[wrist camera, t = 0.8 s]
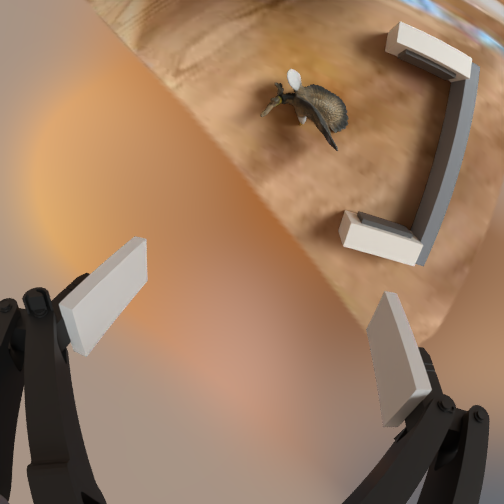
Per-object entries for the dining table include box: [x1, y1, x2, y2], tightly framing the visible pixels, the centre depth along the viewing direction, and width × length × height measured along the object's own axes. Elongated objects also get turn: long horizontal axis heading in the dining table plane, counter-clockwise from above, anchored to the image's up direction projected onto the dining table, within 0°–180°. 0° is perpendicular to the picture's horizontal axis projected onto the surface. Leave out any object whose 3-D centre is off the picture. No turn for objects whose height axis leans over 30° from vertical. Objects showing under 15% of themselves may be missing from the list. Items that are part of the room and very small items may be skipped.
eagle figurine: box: [261, 69, 348, 151], centre depth 29 cm, size 8×7×9 cm
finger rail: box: [338, 22, 480, 266], centre depth 28 cm, size 28×12×5 cm, turn 168°
